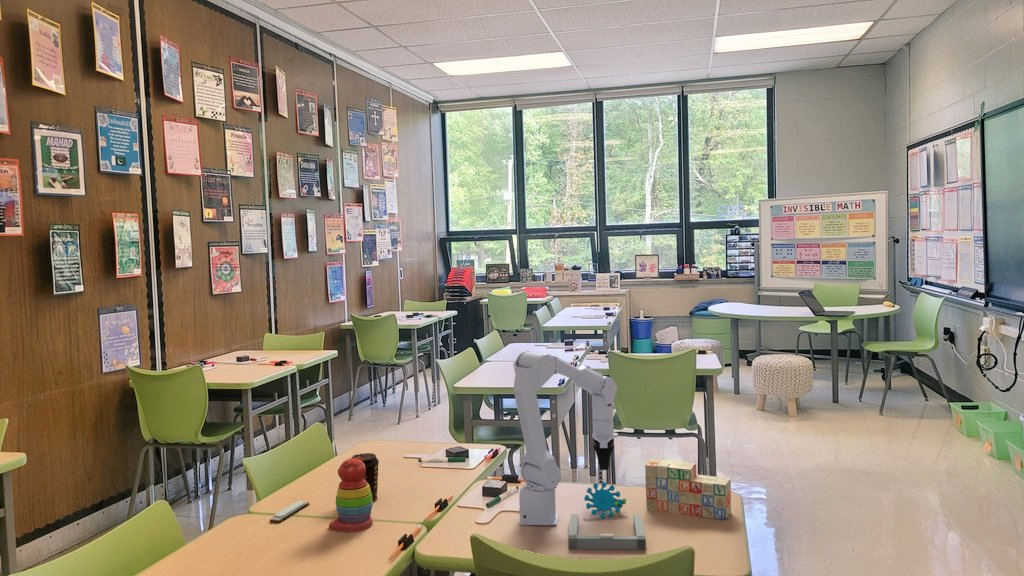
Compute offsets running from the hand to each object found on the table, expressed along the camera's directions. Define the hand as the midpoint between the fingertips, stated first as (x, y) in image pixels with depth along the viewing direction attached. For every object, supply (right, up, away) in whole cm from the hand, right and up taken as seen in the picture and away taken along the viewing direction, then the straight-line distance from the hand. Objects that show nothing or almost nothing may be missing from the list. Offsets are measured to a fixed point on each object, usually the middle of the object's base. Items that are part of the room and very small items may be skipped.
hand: (604, 466), depth 206 cm
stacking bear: (-67, -13, -13) cm, 69 cm away
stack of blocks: (+21, -10, -10) cm, 25 cm away
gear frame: (-2, -11, -24) cm, 27 cm away
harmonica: (-87, -13, -2) cm, 88 cm away
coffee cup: (-68, -12, +6) cm, 69 cm away
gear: (-1, -10, -10) cm, 15 cm away
